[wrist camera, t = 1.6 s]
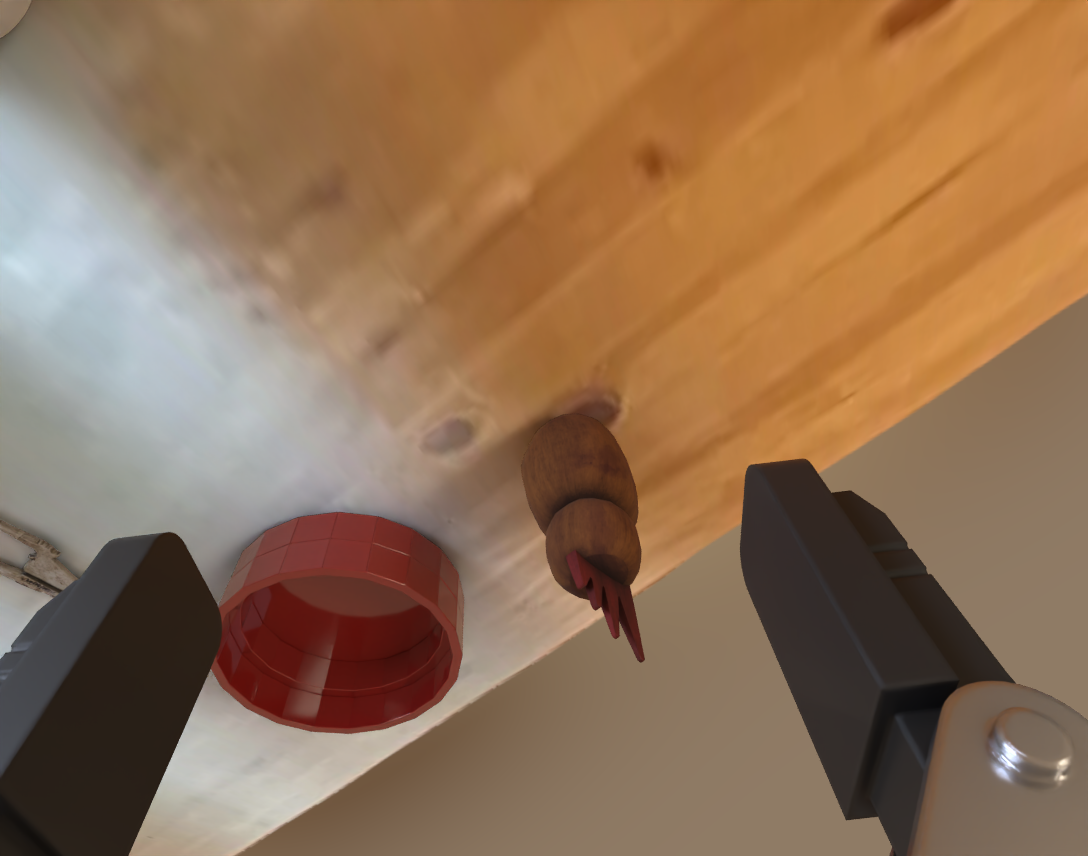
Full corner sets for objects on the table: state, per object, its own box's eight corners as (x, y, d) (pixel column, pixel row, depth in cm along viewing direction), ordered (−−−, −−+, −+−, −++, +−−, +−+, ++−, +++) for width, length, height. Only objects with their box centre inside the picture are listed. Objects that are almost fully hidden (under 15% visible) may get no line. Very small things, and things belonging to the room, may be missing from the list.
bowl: (276, 677, 49) (255, 746, 45) (199, 523, 41) (163, 588, 37) (478, 651, 50) (478, 717, 45) (441, 492, 41) (436, 552, 37)
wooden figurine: (634, 466, 42) (700, 666, 29) (550, 499, 42) (579, 707, 30) (595, 381, 38) (652, 565, 25) (504, 419, 39) (516, 616, 26)
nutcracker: (-133, 510, 38) (-97, 462, 36) (-121, 500, 39) (-85, 453, 37) (128, 642, 45) (169, 607, 43) (134, 632, 46) (175, 597, 44)
